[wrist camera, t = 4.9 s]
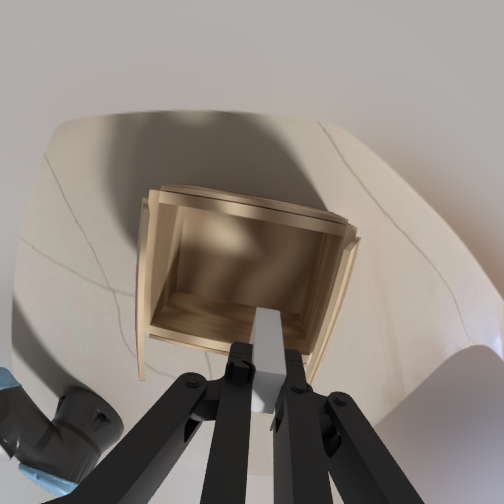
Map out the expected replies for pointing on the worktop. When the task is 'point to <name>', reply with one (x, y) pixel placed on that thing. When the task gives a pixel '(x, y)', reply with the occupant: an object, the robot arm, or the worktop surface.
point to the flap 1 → (141, 284)
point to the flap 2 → (333, 308)
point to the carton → (238, 267)
